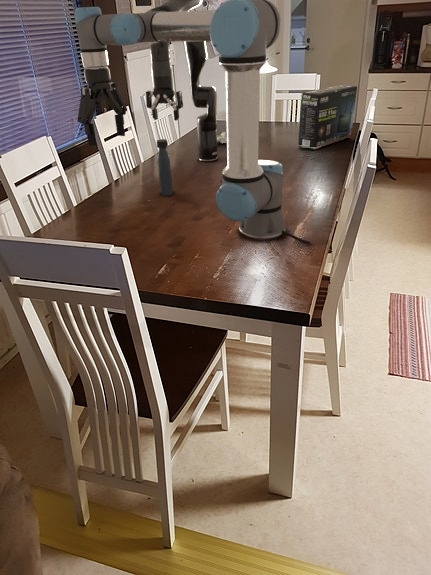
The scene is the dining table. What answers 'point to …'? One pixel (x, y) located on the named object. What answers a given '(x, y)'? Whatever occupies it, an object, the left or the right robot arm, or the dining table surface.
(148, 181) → the dining table surface
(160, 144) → the cap
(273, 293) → the dining table surface
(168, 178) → the bottle
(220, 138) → the fossil
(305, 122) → the router box
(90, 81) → the right robot arm
